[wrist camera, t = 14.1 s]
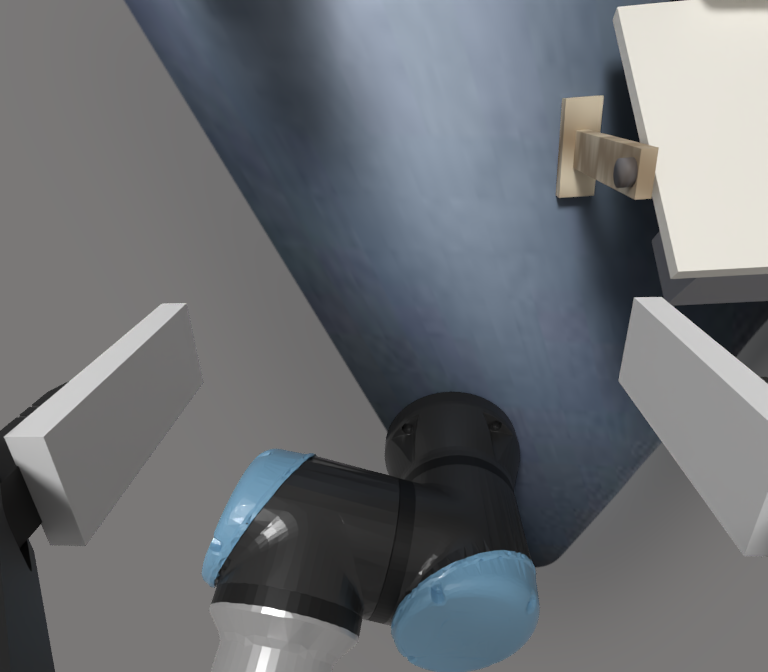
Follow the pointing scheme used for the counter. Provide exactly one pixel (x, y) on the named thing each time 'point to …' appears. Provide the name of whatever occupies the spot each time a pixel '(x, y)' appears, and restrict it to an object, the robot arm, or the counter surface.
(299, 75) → the counter surface
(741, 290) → the trapdoor flap
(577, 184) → the flap stand
